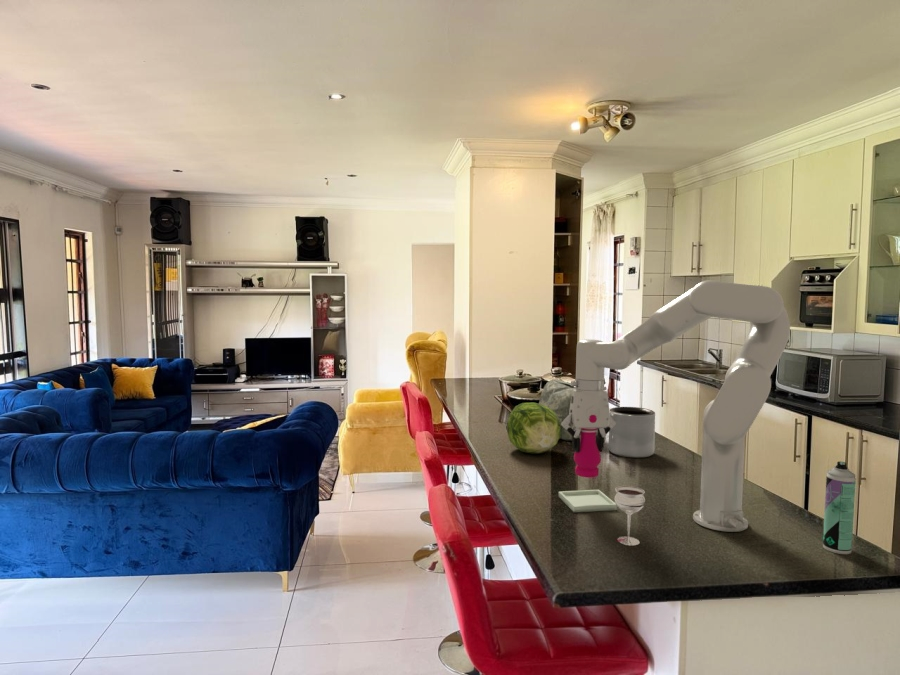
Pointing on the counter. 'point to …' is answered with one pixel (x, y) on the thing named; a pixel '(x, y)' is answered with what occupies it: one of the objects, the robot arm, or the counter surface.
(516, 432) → the lettuce
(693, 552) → the counter surface
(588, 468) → the pepper mill
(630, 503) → the wineglass
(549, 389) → the lunch bag
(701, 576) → the counter surface
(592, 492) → the tray
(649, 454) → the planter
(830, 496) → the spray can
